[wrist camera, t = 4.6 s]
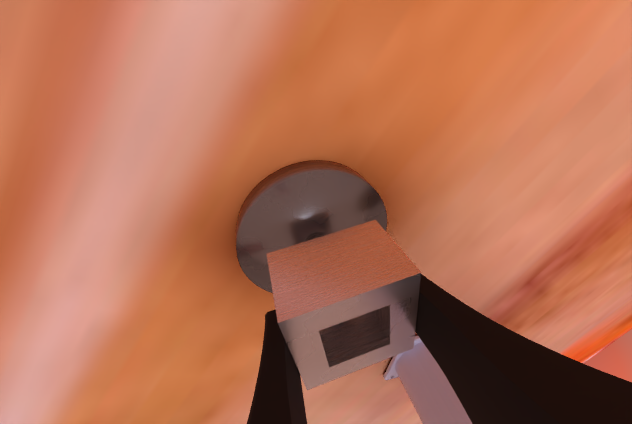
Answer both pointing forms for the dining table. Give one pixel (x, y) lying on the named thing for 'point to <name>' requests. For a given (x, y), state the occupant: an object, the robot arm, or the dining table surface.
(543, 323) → the dining table surface
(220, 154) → the dining table surface
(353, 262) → the square tube sleeve
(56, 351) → the dining table surface
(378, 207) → the hub
